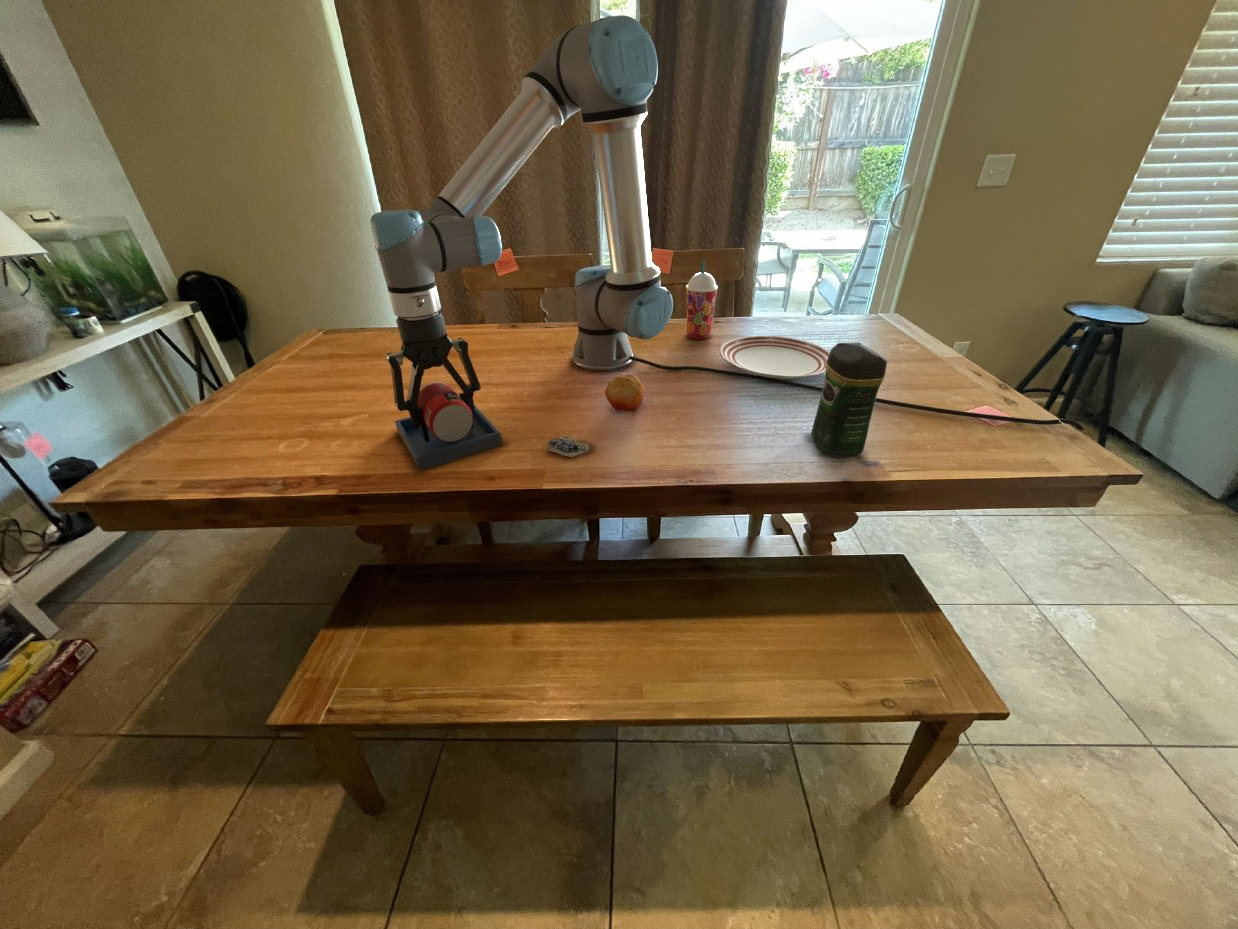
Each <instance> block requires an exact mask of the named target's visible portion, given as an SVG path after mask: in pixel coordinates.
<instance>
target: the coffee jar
mask: <svg viewBox="0 0 1238 929" xmlns="http://www.w3.org/2000/svg"><path fill="white" fill-rule="evenodd" d="M829 352H830V353H829V356H828V359H827V363H826V372H825V373H824V379H823V380H824V381H823V386H822V388H823V390H822V392H821V394H820V399H819V402H818V406H817V410H816V413H815V417H814V421H813V423H812V428H811V432H810V436H811V439H812V441H813V442H814V444H815V445H816V446H817V447H818V448H819V449H820V450H821V451H822V452H823V453H824V454H826V455H827V456H832V457H833V456H834V457H838V458H851V457H855V456H859V455H861V454H862V453H863V452H864V450H865V446H866V442H867V437H868V433H869V428H870V423H871V421H872V420H871V419H872V415H873V411H874V407H875V403H876V402H875V400H876V398H877V396H878V392H879V389H880V386H881V385H882V384H883V382H884V380H885V377H886V372H887V371H886V370H887V366H888V360H887V359H886V358H885V357H883V356H882V355H880V354H879V353H878V352H876V351H874V350H873V349H871V348H870V347H867V346H866V345H863V344H862V343H861V342H859V341H857V342H856V341H855V342H854V341H853V342H851V341H850V342H838V343H836V344H835V345H834V346H833V347H832V348H831V349H830V351H829Z"/></svg>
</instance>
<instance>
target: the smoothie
mask: <svg viewBox="0 0 1238 929" xmlns="http://www.w3.org/2000/svg"><path fill="white" fill-rule="evenodd" d="M705 263H706V262H705V261H702V262H701V272H698V273H695V274H694V275H693V276H692V277H691V278H690V279H689V281H688V283H687V285H686V286H685V287H686V288H685V289H686V332H687V334H688V337H689V338H691V339H693V340H694V339H695V340H704V339H707V338H708V337H709V336H710V334H711V333H712V329H713V328H712V327H713V320H714V315H715V314H714V313H715V307H716V300H717V292H718V285H717V283H716V280H715V278H714V277H713V276H712V275H711V274H710V273H707V272H705V266H706V265H705Z"/></svg>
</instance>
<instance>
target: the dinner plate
mask: <svg viewBox="0 0 1238 929" xmlns="http://www.w3.org/2000/svg"><path fill="white" fill-rule="evenodd" d="M829 353H830V351H829V350H828V349H826V348H824V347H822V346H820V345H817V344H815V343H812V342H810V341H806V340H802V339H798V338H793V337H788V336H779V335H749V336H742V337H738V338H734V339H731V340H728V341H726V342H724V343H723V344H722V345H721V346H720V348H719V354H720V356H721V358H722V360H723V361H725V362H726V363H727V364H729V365H730V366H732V367H734V368H736V369H738V370H740V371H742V372H743V373H746V374H751V375H757V376H763V377H769V378H774V379H780V380H796V379H805V378H810V377H814V376H818V375H822V374H825V373H826V363H827V359H828V356H829Z"/></svg>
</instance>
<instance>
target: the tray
mask: <svg viewBox="0 0 1238 929" xmlns="http://www.w3.org/2000/svg"><path fill="white" fill-rule="evenodd" d="M474 406H475V409H474V410H472V411H471V412H472V416H473V426H474V428H472V429H470V431H469V432H468V434H467V435H466V436H464V437H463V438H462V439H460V440H457V441H454V442H445V441H442V440H440V439H438V438H436V437H435V436H434V435H433V434H432V432H431V431H430V429H429V428H428V426H427V425H426V424H425V425H426V428H427V432H428V436H429V439H430V441H428V442H425V440H424V438H423V437H422V434H421V430H420V427H419V426H416V427H415V426H414V424H413V423H412V421H411V418H410V416H409V417H404V418H401V419H397V420H394V424H395V427H396V431H397V433H398V435H399V438H400V439H401V440H402V443H403V444H404V446H405V448H406V449H407V451H408V453H409V455H410V456H411V458H412V460H413V462H414V464H415V465H416V467H417V468H418V471H419V472H420V471H423V470H427V469H430V468H434V467H436V466H439V465H440V466H441V465H443V464H446V463H449V462H452V461H456V460H458V459H462V458H465V457H468V456H472V455H475V454H477V453H481V452H484V451H488V450H491V449H493V448H497V447H500V446H502V445H503V442H502V435H501V432H500V431H499V430H498V429H497V428H496V426H494V424H493V423H492V422H491V421H490V420H489V419H488V418H487V416H485V415H484V414H483V412H482V411H481V410H480V409H479V408H478V407H477V406H476V405H475V404H474Z"/></svg>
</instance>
